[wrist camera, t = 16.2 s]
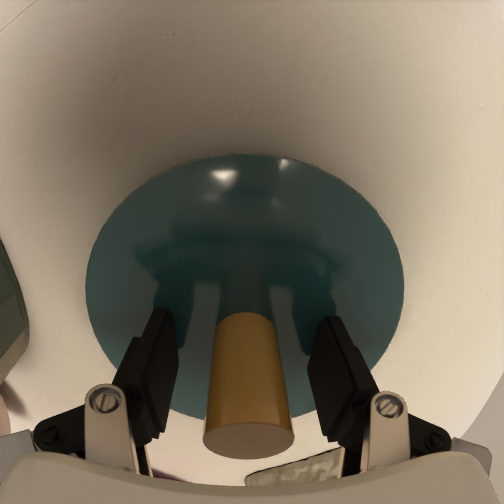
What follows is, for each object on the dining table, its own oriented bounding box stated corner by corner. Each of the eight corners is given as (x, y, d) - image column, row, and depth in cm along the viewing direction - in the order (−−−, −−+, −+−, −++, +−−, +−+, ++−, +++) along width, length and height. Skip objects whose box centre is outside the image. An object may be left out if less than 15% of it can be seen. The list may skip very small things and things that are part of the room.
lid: (72, 337, 12) (22, 417, 7) (193, 81, 8) (127, 6, 2) (274, 429, 16) (282, 506, 10) (437, 275, 12) (513, 347, 6)
